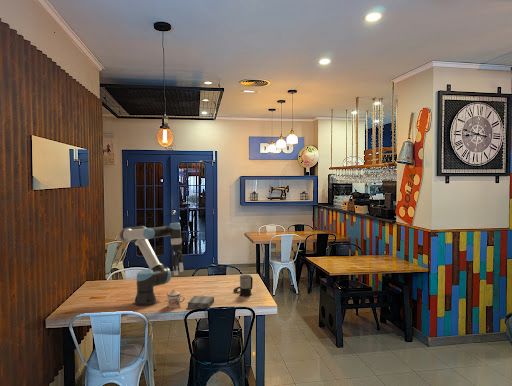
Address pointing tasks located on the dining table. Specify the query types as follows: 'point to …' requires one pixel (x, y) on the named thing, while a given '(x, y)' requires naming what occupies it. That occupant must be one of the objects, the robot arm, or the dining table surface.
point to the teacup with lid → (174, 299)
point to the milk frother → (245, 285)
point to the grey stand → (200, 302)
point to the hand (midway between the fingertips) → (178, 273)
